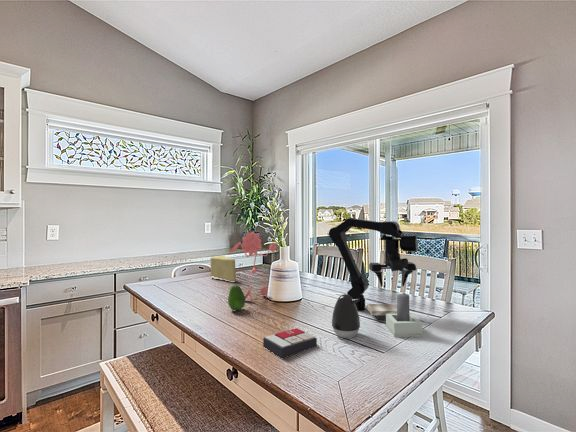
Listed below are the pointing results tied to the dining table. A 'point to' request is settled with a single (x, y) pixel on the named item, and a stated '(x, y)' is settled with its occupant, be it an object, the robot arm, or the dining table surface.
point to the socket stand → (404, 326)
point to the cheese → (223, 268)
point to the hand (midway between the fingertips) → (392, 286)
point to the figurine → (251, 246)
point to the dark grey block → (403, 307)
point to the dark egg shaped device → (346, 317)
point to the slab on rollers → (382, 310)
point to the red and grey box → (289, 342)
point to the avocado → (236, 298)
